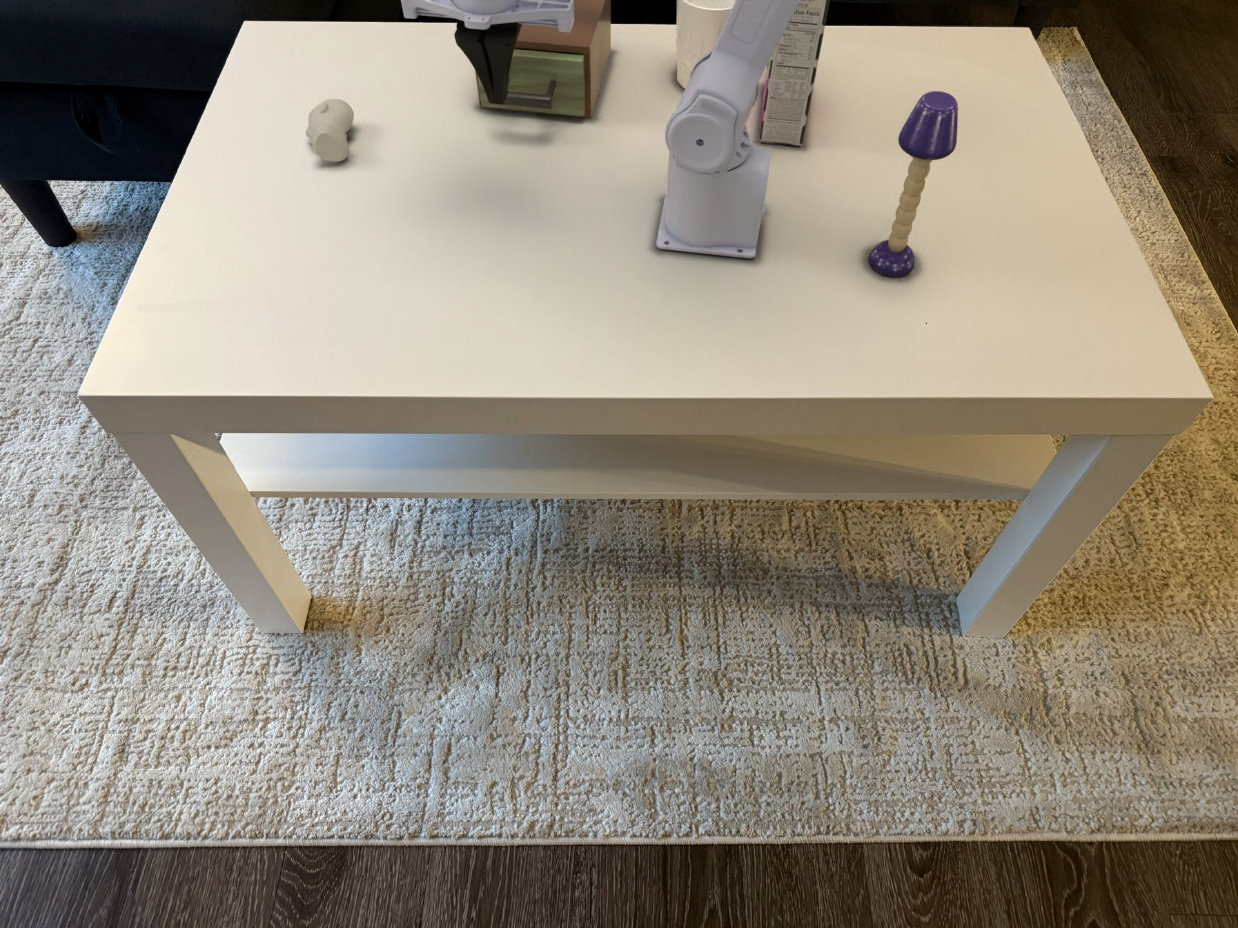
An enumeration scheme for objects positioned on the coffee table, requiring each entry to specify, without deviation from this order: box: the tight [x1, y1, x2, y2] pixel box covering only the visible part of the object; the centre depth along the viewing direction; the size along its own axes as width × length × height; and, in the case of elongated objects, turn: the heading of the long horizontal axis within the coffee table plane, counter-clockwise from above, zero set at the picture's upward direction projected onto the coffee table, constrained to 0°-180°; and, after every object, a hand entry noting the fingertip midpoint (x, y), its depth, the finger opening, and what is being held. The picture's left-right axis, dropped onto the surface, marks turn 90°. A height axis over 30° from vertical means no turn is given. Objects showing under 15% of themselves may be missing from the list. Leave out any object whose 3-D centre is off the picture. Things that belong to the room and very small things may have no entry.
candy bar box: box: [758, 0, 831, 147], centre depth 89 cm, size 11×5×16 cm, turn 171°
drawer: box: [478, 48, 586, 117], centre depth 94 cm, size 17×11×6 cm
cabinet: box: [474, 0, 612, 119], centre depth 96 cm, size 14×13×8 cm
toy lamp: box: [868, 90, 959, 278], centre depth 75 cm, size 5×5×17 cm
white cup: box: [675, 0, 736, 90], centre depth 96 cm, size 8×8×10 cm
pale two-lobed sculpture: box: [305, 98, 355, 163], centre depth 91 cm, size 4×8×5 cm
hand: (498, 98), depth 80 cm, fingers closed
